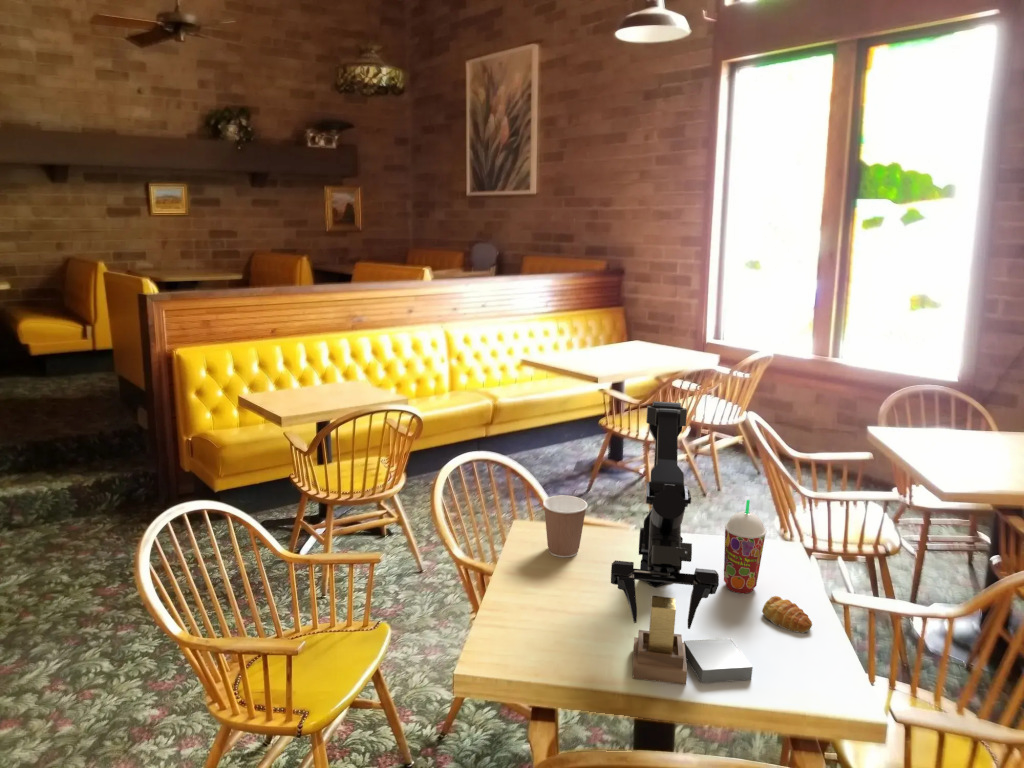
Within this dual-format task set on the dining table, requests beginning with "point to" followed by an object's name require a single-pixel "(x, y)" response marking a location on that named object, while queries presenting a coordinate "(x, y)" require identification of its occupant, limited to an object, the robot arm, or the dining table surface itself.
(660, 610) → the brass bar
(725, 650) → the slate plinth
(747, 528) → the smoothie
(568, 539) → the coffee cup
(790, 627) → the pastry
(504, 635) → the dining table surface
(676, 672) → the walnut holder
